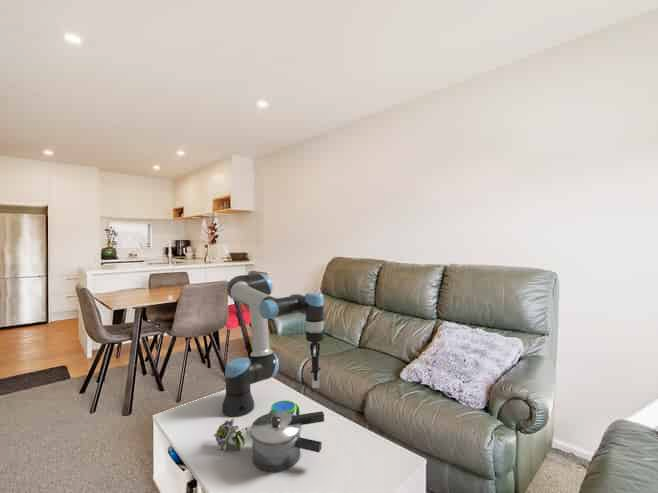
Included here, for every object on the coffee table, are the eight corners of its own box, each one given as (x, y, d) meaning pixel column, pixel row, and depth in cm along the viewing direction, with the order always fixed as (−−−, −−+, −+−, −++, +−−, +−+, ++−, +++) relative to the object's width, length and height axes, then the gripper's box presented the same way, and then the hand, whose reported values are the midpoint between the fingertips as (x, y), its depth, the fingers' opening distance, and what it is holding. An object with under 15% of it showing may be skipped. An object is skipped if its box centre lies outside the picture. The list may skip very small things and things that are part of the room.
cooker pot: (268, 437, 139) (267, 414, 139) (328, 451, 130) (328, 426, 129) (242, 465, 122) (242, 438, 122) (310, 484, 113) (310, 455, 112)
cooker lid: (251, 448, 116) (251, 437, 115) (250, 420, 134) (250, 410, 134) (329, 435, 123) (329, 424, 123) (318, 410, 141) (317, 400, 141)
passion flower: (221, 462, 132) (205, 435, 134) (241, 443, 141) (226, 418, 143) (236, 456, 126) (219, 428, 128) (255, 436, 135) (239, 410, 137)
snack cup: (294, 417, 154) (293, 396, 154) (305, 428, 145) (304, 405, 145) (262, 428, 145) (261, 405, 145) (271, 441, 137) (271, 416, 136)
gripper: (323, 334, 131) (324, 394, 131) (324, 326, 144) (325, 380, 144) (304, 335, 131) (305, 394, 131) (306, 326, 144) (307, 380, 145)
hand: (315, 387), depth 138 cm, fingers closed
